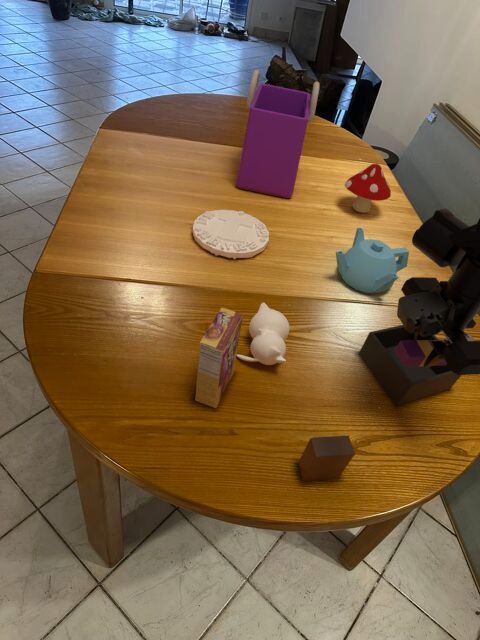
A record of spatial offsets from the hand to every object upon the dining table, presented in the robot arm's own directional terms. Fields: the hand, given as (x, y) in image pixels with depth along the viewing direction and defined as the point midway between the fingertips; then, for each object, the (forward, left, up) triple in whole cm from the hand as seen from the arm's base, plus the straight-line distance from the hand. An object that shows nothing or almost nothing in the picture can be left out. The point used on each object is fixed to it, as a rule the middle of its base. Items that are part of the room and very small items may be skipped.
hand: (420, 356), depth 71 cm
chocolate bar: (0, 0, 0) cm, 0 cm away
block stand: (-8, +21, -12) cm, 26 cm away
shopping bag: (+87, -13, -12) cm, 89 cm away
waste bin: (+5, -6, -12) cm, 15 cm away
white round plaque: (+56, +12, -12) cm, 58 cm away
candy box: (+12, +32, -12) cm, 36 cm away
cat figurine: (+18, +20, -12) cm, 29 cm away
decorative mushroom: (+63, -34, -12) cm, 73 cm away
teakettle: (+33, -15, -12) cm, 38 cm away
